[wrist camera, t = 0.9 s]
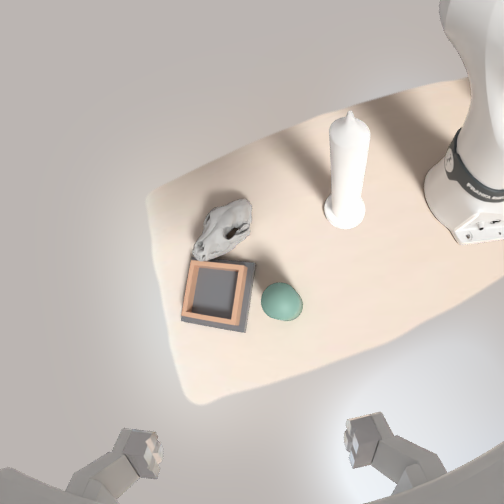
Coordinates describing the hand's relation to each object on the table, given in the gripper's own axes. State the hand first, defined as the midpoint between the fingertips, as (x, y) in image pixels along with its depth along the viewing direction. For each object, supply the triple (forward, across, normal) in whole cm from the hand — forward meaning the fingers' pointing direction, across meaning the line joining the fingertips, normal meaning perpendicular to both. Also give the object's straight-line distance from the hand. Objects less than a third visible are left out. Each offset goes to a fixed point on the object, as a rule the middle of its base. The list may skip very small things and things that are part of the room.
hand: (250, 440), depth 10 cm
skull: (+44, +4, -1) cm, 44 cm away
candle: (+40, -17, -4) cm, 44 cm away
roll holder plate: (+39, +6, +8) cm, 40 cm away
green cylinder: (+35, -5, +10) cm, 37 cm away
